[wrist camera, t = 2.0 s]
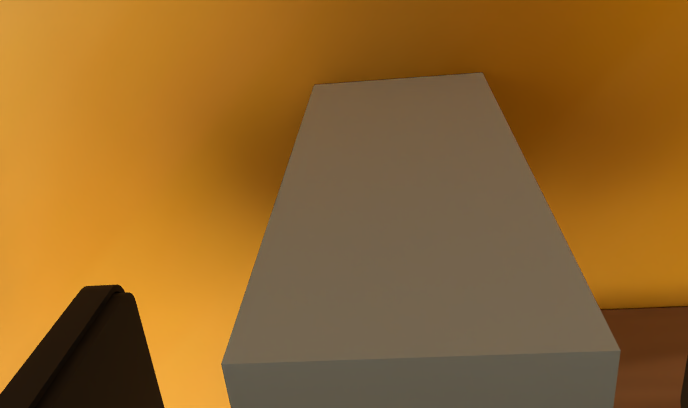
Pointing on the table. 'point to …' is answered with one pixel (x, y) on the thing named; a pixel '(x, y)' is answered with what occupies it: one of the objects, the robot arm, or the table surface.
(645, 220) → the table surface
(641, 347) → the socket block
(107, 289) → the robot arm
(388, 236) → the peg
